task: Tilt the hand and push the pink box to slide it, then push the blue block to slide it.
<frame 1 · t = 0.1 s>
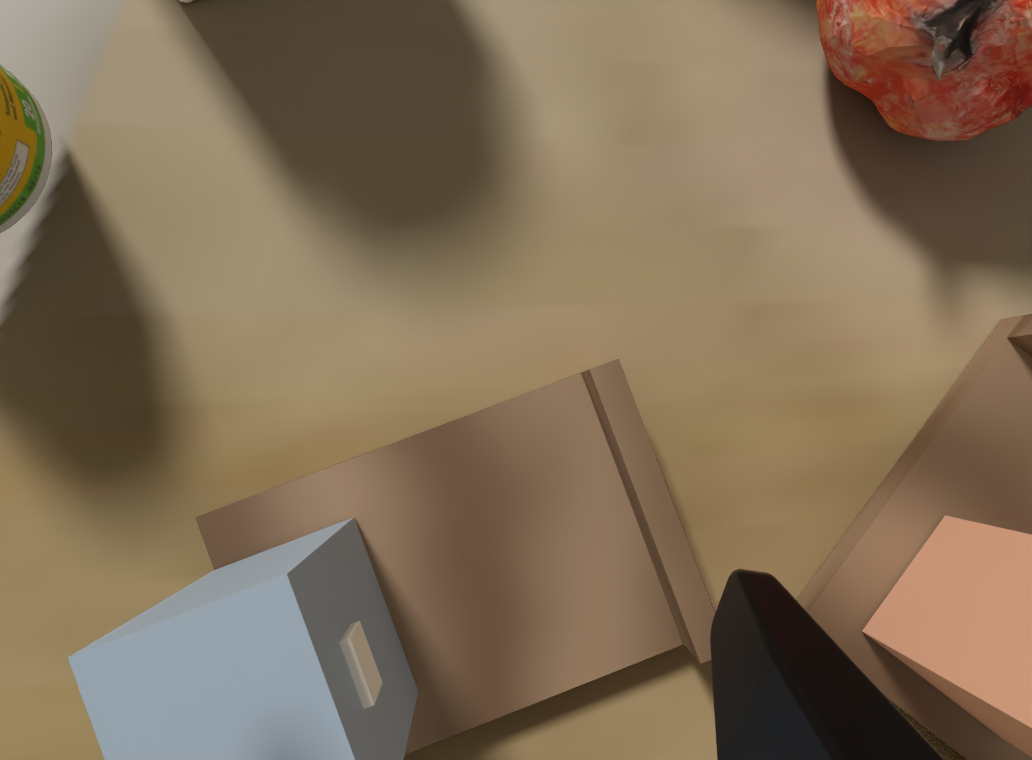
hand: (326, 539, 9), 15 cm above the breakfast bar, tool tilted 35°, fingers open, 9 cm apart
pomegranate: (899, 41, 25), on the breakfast bar
plinth 1: (456, 569, 24), on the breakfast bar
plinth 2: (1000, 549, 25), on the breakfast bar
blue block 1: (285, 675, 19), point 5 cm above the breakfast bar, slide at 0.0 cm
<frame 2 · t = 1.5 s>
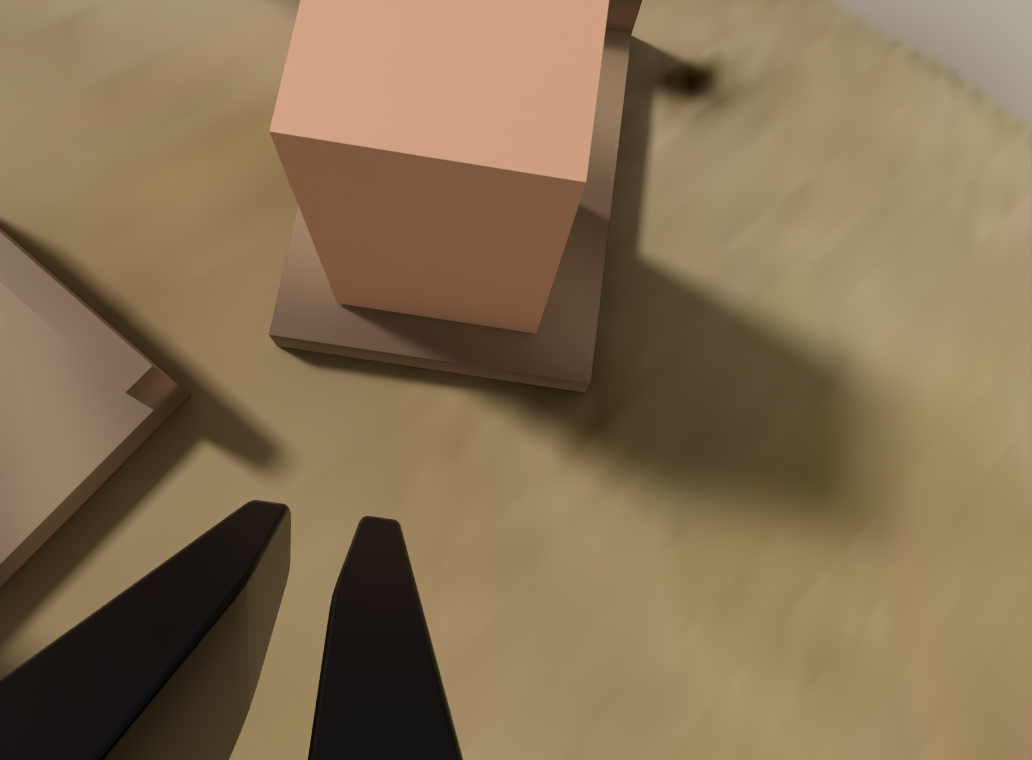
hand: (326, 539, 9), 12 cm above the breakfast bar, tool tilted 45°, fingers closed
plinth 2: (463, 178, 23), on the breakfast bar
pink box 2: (450, 163, 18), point 5 cm above the breakfast bar, slide at 0.0 cm
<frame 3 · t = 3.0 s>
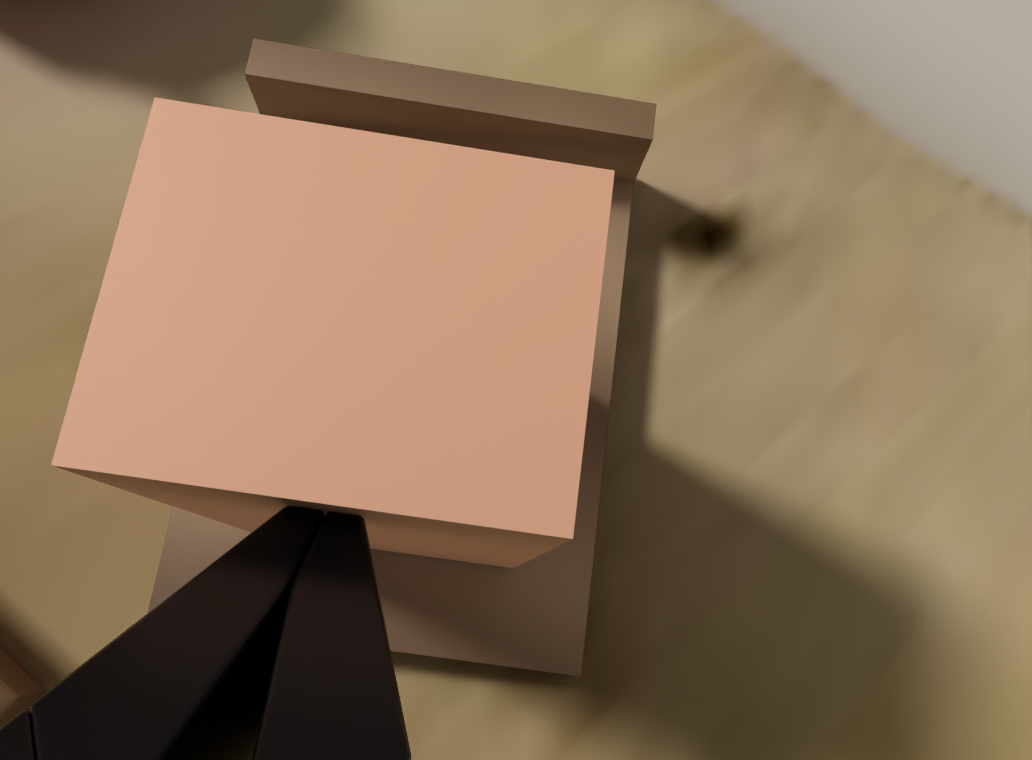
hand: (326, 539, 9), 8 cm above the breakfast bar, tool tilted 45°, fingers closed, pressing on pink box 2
plinth 2: (416, 375, 18), on the breakfast bar
pink box 2: (384, 391, 12), point 5 cm above the breakfast bar, slide at 0.7 cm, touching gripper
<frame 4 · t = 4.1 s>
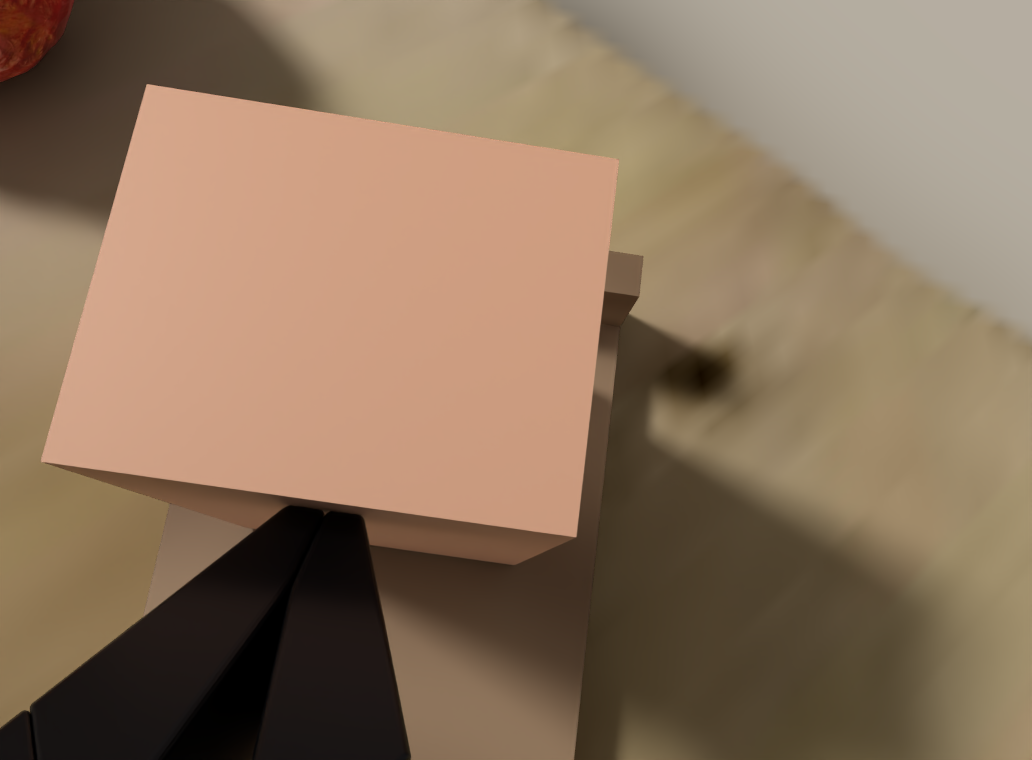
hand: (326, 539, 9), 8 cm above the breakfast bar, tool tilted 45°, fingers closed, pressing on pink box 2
plinth 2: (388, 534, 17), on the breakfast bar
pink box 2: (384, 385, 12), point 5 cm above the breakfast bar, slide at 4.2 cm, touching gripper
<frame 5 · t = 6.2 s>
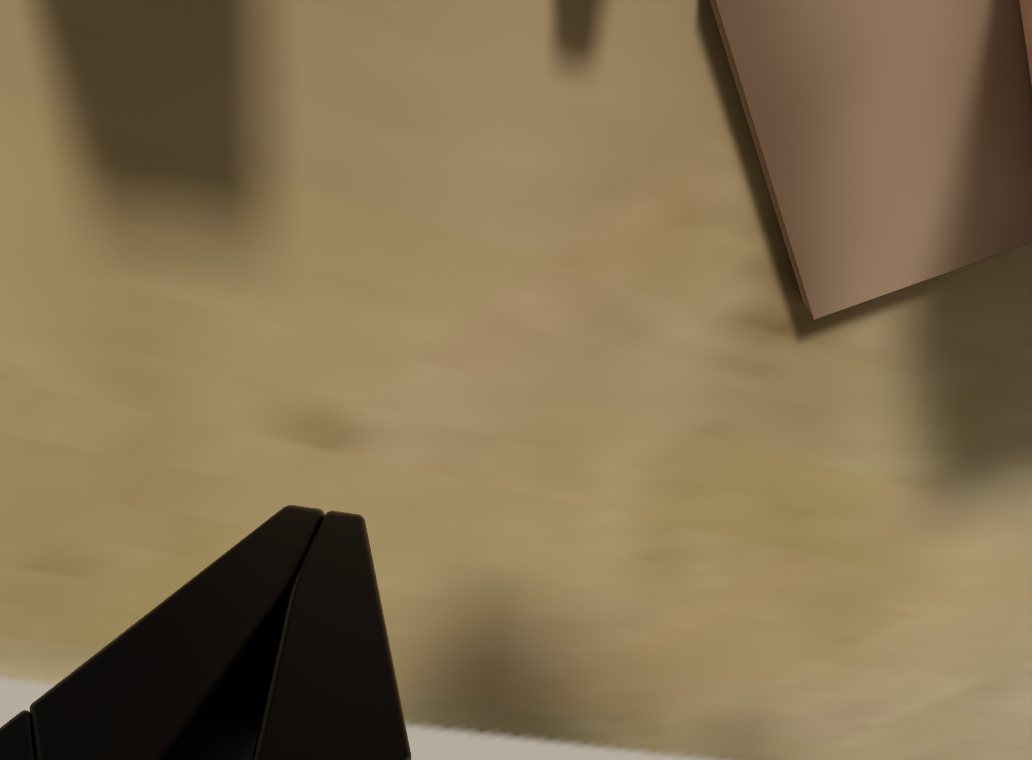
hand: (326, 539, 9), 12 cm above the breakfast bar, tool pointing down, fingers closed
plinth 2: (1017, 43, 17), on the breakfast bar
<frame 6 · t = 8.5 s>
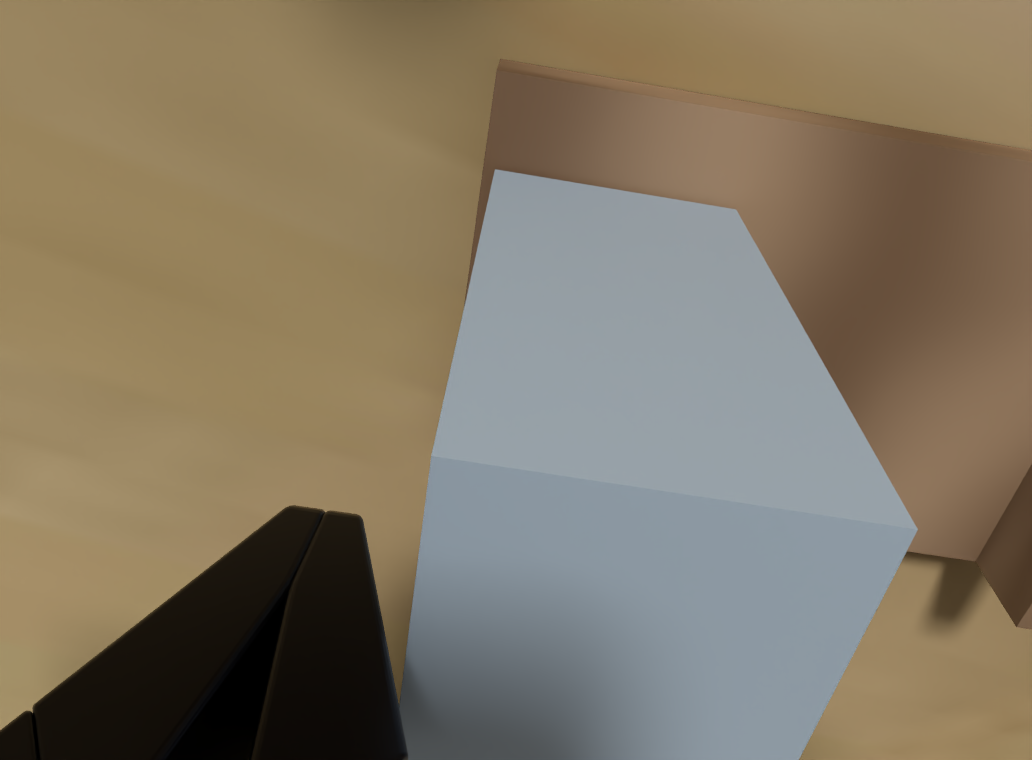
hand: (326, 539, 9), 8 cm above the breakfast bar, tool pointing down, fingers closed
plinth 1: (780, 330, 16), on the breakfast bar
blue block 1: (603, 456, 11), point 5 cm above the breakfast bar, slide at 0.2 cm, touching gripper
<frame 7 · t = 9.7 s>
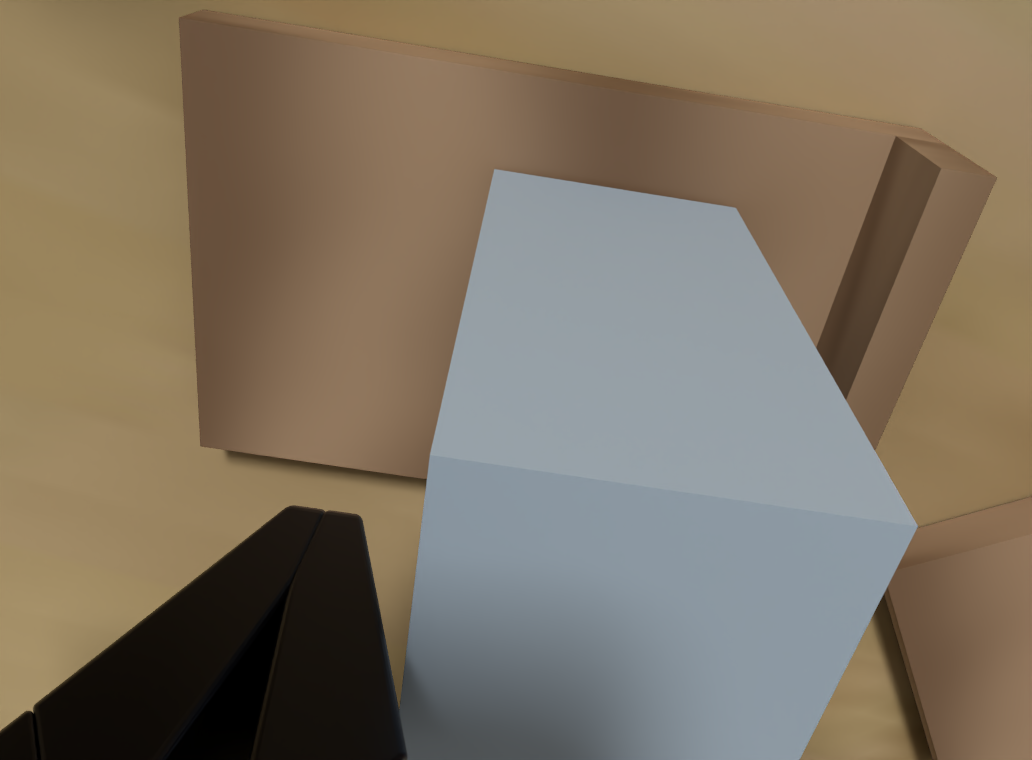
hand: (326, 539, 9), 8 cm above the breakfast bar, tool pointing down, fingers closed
plinth 1: (530, 290, 16), on the breakfast bar
blue block 1: (603, 455, 11), point 5 cm above the breakfast bar, slide at 5.0 cm, touching gripper
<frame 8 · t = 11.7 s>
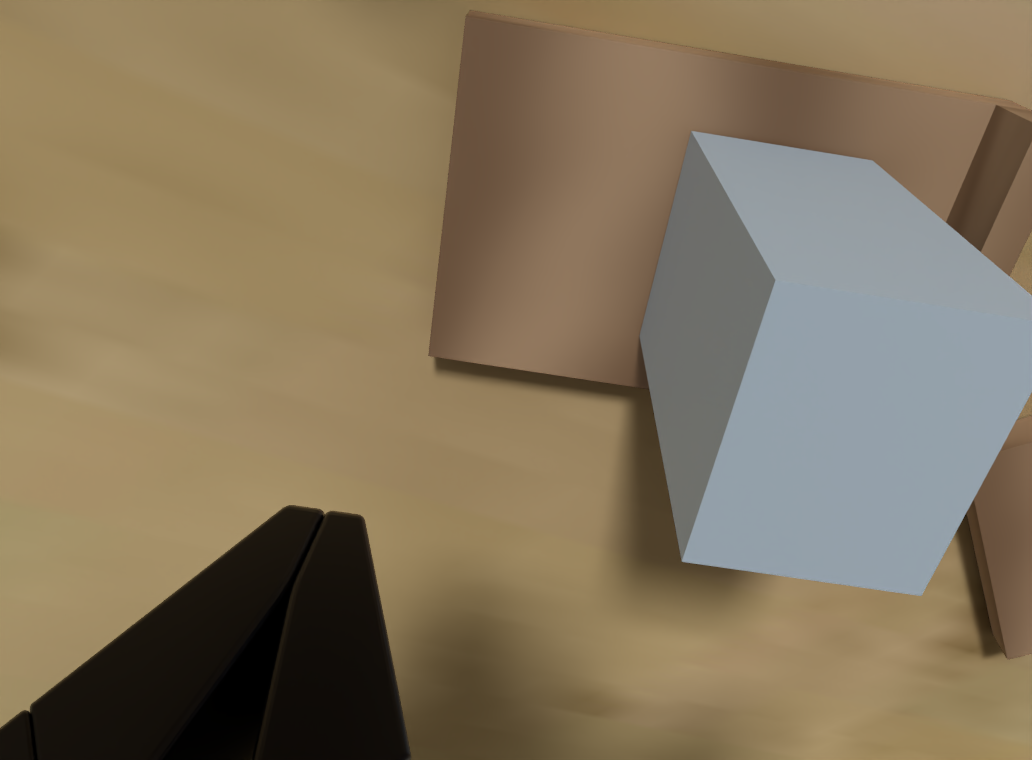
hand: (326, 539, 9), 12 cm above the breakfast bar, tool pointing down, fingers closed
plinth 1: (696, 229, 20), on the breakfast bar
blue block 1: (796, 333, 16), point 5 cm above the breakfast bar, slide at 5.1 cm
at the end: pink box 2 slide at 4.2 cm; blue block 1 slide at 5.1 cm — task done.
